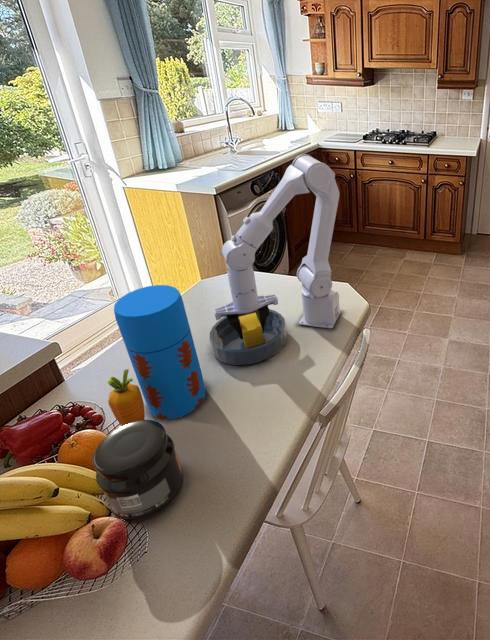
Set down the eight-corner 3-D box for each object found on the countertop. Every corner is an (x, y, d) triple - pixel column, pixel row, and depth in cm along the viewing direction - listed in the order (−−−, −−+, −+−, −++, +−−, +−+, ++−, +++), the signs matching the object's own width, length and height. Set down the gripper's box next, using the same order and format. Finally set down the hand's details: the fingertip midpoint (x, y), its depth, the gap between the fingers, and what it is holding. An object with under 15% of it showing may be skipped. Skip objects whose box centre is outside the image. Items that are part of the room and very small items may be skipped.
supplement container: (169, 453, 74) (153, 405, 69) (196, 490, 68) (180, 442, 62) (103, 494, 67) (78, 445, 61) (126, 541, 61) (101, 491, 55)
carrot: (147, 418, 81) (126, 360, 74) (158, 432, 78) (137, 373, 71) (119, 434, 77) (94, 375, 70) (130, 449, 74) (105, 389, 68)
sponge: (258, 328, 106) (255, 312, 104) (264, 343, 101) (261, 327, 99) (240, 332, 104) (237, 317, 102) (246, 348, 99) (243, 332, 97)
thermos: (183, 424, 80) (151, 321, 68) (136, 415, 81) (97, 312, 70) (216, 385, 89) (193, 288, 78) (173, 377, 91) (144, 281, 79)
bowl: (297, 325, 109) (295, 311, 107) (268, 371, 93) (266, 356, 91) (236, 318, 111) (233, 304, 109) (197, 361, 95) (193, 346, 93)
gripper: (270, 273, 102) (276, 317, 108) (208, 287, 96) (218, 333, 102) (277, 286, 97) (283, 332, 103) (212, 302, 90) (223, 349, 96)
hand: (251, 333), depth 102 cm, fingers closed on sponge, 4 cm apart
